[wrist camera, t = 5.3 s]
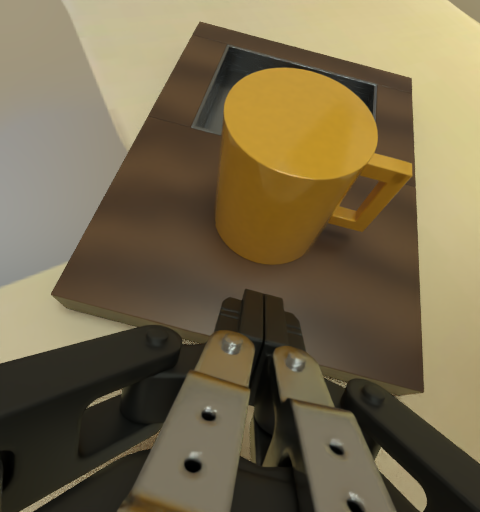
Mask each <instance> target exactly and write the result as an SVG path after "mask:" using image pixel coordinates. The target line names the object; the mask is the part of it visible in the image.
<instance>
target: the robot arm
mask: <svg viewBox="0 0 480 512" xmlns="http://www.w3.org/2000/svg"><path fill="white" fill-rule="evenodd" d="M122 388H123V389H122ZM119 389H122V394H120V395H118V396H115V397H113V398H110V399H108V400H106V401H103V402H101V403H99V404H96V405H94V406H91V407H89V408H87V407H88V406H89V405H90V404H91V403H92V402H93V401H94V400H96V399H98V398H100V397H102V396H104V395H107V394H109V393H112V392H114V391H117V390H119ZM248 405H251V406H254V413H253V416H252V419H251V422H250V427H249V430H250V456H251V461H249V460H247V459H245V458H243V457H241V456H240V451H241V445H242V439H243V433H244V427H245V421H246V415H247V409H248ZM86 408H87V409H86ZM160 429H161V430H160ZM159 430H160V432H159V434H158V436H157V439H156V441H155V443H154V445H153V447H152V449H148V450H143V451H139V452H136V453H133V454H130V455H127V456H125V457H123V458H120V459H118V460H116V461H114V462H113V463H111V464H109V465H107V466H106V467H104V468H103V469H101V470H99V471H98V472H96V473H95V474H93V475H91V476H90V477H88V478H87V479H85V480H83V481H82V482H80V483H78V484H77V485H75V486H74V487H72V488H70V489H69V490H67V491H66V492H64V493H62V494H61V495H59V496H58V497H56V498H54V499H53V500H51V501H50V502H48V503H46V504H45V505H43V506H41V507H40V508H38V509H37V510H35V511H33V512H420V511H419V510H417V509H416V508H415V507H414V506H413V505H412V504H411V503H410V502H409V501H408V500H407V499H406V498H405V497H404V496H403V495H402V494H401V493H400V492H399V491H398V490H397V489H396V487H395V486H394V485H393V484H392V483H391V482H390V481H389V480H388V479H387V478H386V477H385V476H384V475H383V474H382V473H381V472H380V471H379V470H378V468H377V466H376V464H375V461H374V460H375V458H376V456H377V454H378V452H379V450H380V448H381V447H382V448H383V449H384V450H385V451H386V452H387V453H388V454H389V455H390V456H391V457H392V458H393V459H395V460H396V461H397V462H398V463H399V464H400V465H401V466H402V467H403V468H404V469H405V470H406V471H407V472H408V473H409V474H410V475H411V476H412V477H414V478H415V479H416V480H417V481H418V482H419V484H420V485H421V486H422V488H423V489H424V492H425V494H426V497H427V506H426V508H425V510H424V511H423V512H480V464H479V463H478V462H477V461H475V460H474V459H473V458H472V457H470V456H469V455H468V454H467V453H465V452H464V451H463V450H461V449H460V448H459V447H458V446H456V445H455V444H454V443H453V442H451V441H450V440H449V439H447V438H446V437H445V436H444V435H442V434H441V433H440V432H439V431H437V430H436V429H435V428H433V427H432V426H431V425H430V424H428V423H427V422H426V421H425V420H423V419H422V418H421V417H420V416H418V415H417V414H416V413H414V412H413V411H412V410H411V409H409V408H408V407H407V406H406V405H404V404H403V403H402V402H400V401H399V400H398V399H397V398H395V397H394V396H393V395H392V394H390V393H389V392H388V391H386V390H385V389H384V388H382V387H381V386H379V385H377V384H375V383H373V382H371V381H368V380H365V379H360V378H354V379H351V380H349V381H348V383H347V385H346V388H344V387H341V386H339V385H337V384H335V383H333V382H331V381H329V380H327V379H325V378H324V377H323V375H322V373H321V370H320V367H319V365H318V363H317V361H316V360H315V359H314V358H313V357H312V356H311V355H310V354H308V353H307V352H306V349H305V344H304V340H303V336H302V331H301V326H300V322H299V320H298V319H297V318H296V317H295V315H294V314H293V313H290V312H286V311H284V305H283V299H282V298H280V297H276V296H272V295H269V294H264V295H263V293H261V292H257V291H253V290H249V289H245V291H244V294H243V298H242V300H240V299H236V298H232V297H228V298H227V299H225V300H224V301H223V302H222V305H221V309H220V312H219V316H218V319H217V323H216V326H215V329H214V333H212V334H211V335H210V337H209V339H208V341H207V342H205V343H202V344H195V345H187V344H182V338H181V336H180V335H179V334H178V333H177V332H176V331H174V330H173V329H171V328H168V327H165V326H161V325H145V326H141V327H137V328H134V329H130V330H126V331H122V332H118V333H115V334H111V335H107V336H103V337H99V338H96V339H92V340H88V341H84V342H80V343H77V344H73V345H69V346H65V347H61V348H58V349H54V350H50V351H46V352H43V353H39V354H35V355H31V356H27V357H24V358H20V359H16V360H12V361H8V362H5V363H1V364H0V512H19V511H21V510H23V509H24V508H26V507H28V506H30V505H31V504H33V503H35V502H37V501H38V500H40V499H42V498H44V497H45V496H47V495H49V494H51V493H52V492H54V491H56V490H58V489H59V488H61V487H63V486H65V485H67V484H68V483H70V482H72V481H74V480H75V479H77V478H79V477H81V476H82V475H84V474H86V473H88V472H89V471H91V470H93V469H95V468H96V467H98V466H100V465H102V464H103V463H105V462H107V461H109V460H110V459H112V458H114V457H116V456H117V455H119V454H121V453H123V452H124V451H126V450H128V449H130V448H131V447H133V446H135V445H137V444H138V443H140V442H142V441H144V440H145V439H147V438H149V437H151V436H153V435H154V434H156V433H157V432H158V431H159Z"/></svg>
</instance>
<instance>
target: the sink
mask: <svg viewBox="0 0 480 512" xmlns="http://www.w3.org/2000/svg"><path fill="white" fill-rule="evenodd" d="M271 68H297V69H303V70H308V71H312V72H315V73H318V74H321V75H324V76H326V77H329V78H331V79H333V80H335V81H337V82H339V83H340V84H342V85H344V86H345V87H347V88H348V89H350V90H351V91H352V92H353V93H355V94H356V95H357V96H358V97H359V98H360V99H361V100H362V101H363V102H364V103H365V105H366V106H367V107H368V109H369V110H370V112H371V114H372V115H373V117H374V120H375V122H376V103H377V84H375V83H371V82H367V81H363V80H360V79H356V78H352V77H348V76H345V75H341V74H337V73H334V72H330V71H326V70H322V69H319V68H315V67H311V66H307V65H304V64H300V63H296V62H292V61H289V60H285V59H281V58H277V57H274V56H270V55H266V54H262V53H259V52H255V51H251V50H247V49H244V48H240V47H236V46H232V45H229V44H227V46H226V48H225V51H224V53H223V55H222V58H221V60H220V62H219V64H218V67H217V69H216V71H215V73H214V76H213V78H212V80H211V82H210V85H209V87H208V89H207V92H206V94H205V96H204V98H203V101H202V103H201V105H200V107H199V110H198V112H197V114H196V116H195V119H194V121H193V123H192V126H191V128H194V129H197V130H201V131H205V132H209V133H212V134H216V135H220V136H221V132H222V122H223V111H224V103H225V100H226V97H227V95H228V93H229V91H230V90H231V89H232V87H233V86H234V85H235V84H236V83H237V82H238V81H239V80H241V79H242V78H244V77H245V76H247V75H250V74H252V73H254V72H257V71H260V70H265V69H271Z"/></svg>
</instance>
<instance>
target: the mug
mask: <svg viewBox="0 0 480 512" xmlns="http://www.w3.org/2000/svg"><path fill="white" fill-rule="evenodd" d="M377 142H378V130H377V126H376V122H375V120H374V117H373V115H372V114H371V112H370V110H369V109H368V107H367V106H366V105H365V103H364V102H363V101H362V100H361V99H360V98H359V97H358V96H357V95H356V94H355V93H353V92H352V91H351V90H350V89H348V88H347V87H345V86H344V85H342V84H340V83H339V82H337V81H335V80H333V79H331V78H329V77H326V76H324V75H321V74H318V73H315V72H312V71H308V70H303V69H297V68H271V69H265V70H260V71H257V72H254V73H252V74H250V75H247V76H245V77H244V78H242V79H241V80H239V81H238V82H237V83H236V84H235V85H234V86H233V87H232V89H231V90H230V91H229V93H228V95H227V97H226V100H225V103H224V111H223V122H222V132H221V143H220V154H219V165H218V176H217V187H216V198H215V208H214V221H215V225H216V228H217V231H218V233H219V235H220V236H221V238H222V240H223V241H224V242H225V243H226V245H227V246H228V247H229V248H230V249H232V250H233V251H234V252H235V253H237V254H238V255H240V256H242V257H243V258H246V259H248V260H250V261H253V262H256V263H261V264H268V265H278V264H284V263H288V262H292V261H294V260H296V259H298V258H300V257H301V256H303V255H304V254H305V253H307V252H308V251H309V250H310V248H311V247H312V246H313V244H314V243H315V241H316V240H317V238H318V237H319V236H320V234H321V233H322V231H323V230H324V228H325V227H326V225H327V224H328V223H329V224H333V225H337V226H341V227H344V228H348V229H352V230H356V231H360V232H363V231H364V230H365V229H366V228H367V227H368V225H369V224H370V223H371V222H372V221H373V220H374V219H375V218H376V216H377V215H378V214H379V213H380V212H381V211H382V210H383V209H384V207H385V206H386V205H387V204H388V203H389V202H390V201H391V199H392V198H393V197H394V196H395V195H396V194H397V193H398V192H399V190H400V189H401V188H402V187H403V186H404V185H405V184H406V183H407V181H408V180H409V179H410V178H411V177H412V175H413V174H412V163H409V162H406V161H402V160H398V159H395V158H391V157H387V156H383V155H380V154H376V153H375V150H376V147H377ZM359 176H364V177H367V178H371V179H375V180H379V182H378V183H377V185H376V186H375V187H374V189H373V190H372V191H371V192H370V194H369V195H368V196H367V198H366V199H365V200H364V202H363V203H362V204H361V205H360V207H359V208H358V209H357V211H355V210H351V209H347V208H344V207H340V204H341V203H342V201H343V200H344V198H345V197H346V195H347V194H348V192H349V191H350V189H351V188H352V186H353V185H354V183H355V182H356V180H357V179H358V177H359Z"/></svg>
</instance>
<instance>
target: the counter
mask: <svg viewBox="0 0 480 512" xmlns="http://www.w3.org/2000/svg"><path fill="white" fill-rule="evenodd" d="M227 44H229V45H232V46H236V47H240V48H244V49H247V50H251V51H255V52H259V53H262V54H266V55H270V56H274V57H277V58H281V59H285V60H289V61H292V62H296V63H300V64H304V65H307V66H311V67H315V68H319V69H322V70H326V71H330V72H334V73H337V74H341V75H345V76H348V77H352V78H356V79H360V80H363V81H367V82H371V83H375V84H377V103H376V126H377V130H378V142H377V147H376V150H375V153H376V154H380V155H383V156H387V157H391V158H395V159H398V160H402V161H406V162H409V163H412V174H413V175H412V177H411V178H410V179H409V180H408V181H407V183H406V184H405V185H404V186H403V187H402V188H401V189H400V190H399V192H398V193H397V194H396V195H395V196H394V197H393V198H392V199H391V201H390V202H389V203H388V204H387V205H386V206H385V207H384V209H383V210H382V211H381V212H380V213H379V214H378V215H377V216H376V218H375V219H374V220H373V221H372V222H371V223H370V224H369V225H368V227H367V228H366V229H365V230H364V231H363V232H360V231H356V230H352V229H348V228H344V227H341V226H337V225H333V224H329V223H328V224H327V225H326V227H325V228H324V230H323V231H322V233H321V234H320V236H319V237H318V238H317V240H316V241H315V243H314V244H313V246H312V247H311V248H310V250H309V251H308V252H307V253H305V254H304V255H303V256H301V257H300V258H298V259H296V260H294V261H292V262H288V263H284V264H278V265H268V264H261V263H256V262H253V261H250V260H248V259H246V258H243V257H242V256H240V255H238V254H237V253H235V252H234V251H233V250H232V249H230V248H229V247H228V246H227V245H226V243H225V242H224V241H223V240H222V238H221V236H220V235H219V233H218V231H217V228H216V225H215V221H214V208H215V198H216V187H217V176H218V165H219V154H220V143H221V136H220V135H216V134H212V133H209V132H205V131H201V130H197V129H194V128H191V126H192V123H193V121H194V119H195V116H196V114H197V112H198V110H199V107H200V105H201V103H202V101H203V98H204V96H205V94H206V92H207V89H208V87H209V85H210V82H211V80H212V78H213V76H214V73H215V71H216V69H217V67H218V64H219V62H220V60H221V58H222V55H223V53H224V51H225V48H226V46H227ZM378 182H379V180H375V179H371V178H367V177H364V176H359V177H358V179H357V180H356V182H355V183H354V185H353V186H352V188H351V189H350V191H349V192H348V194H347V195H346V197H345V198H344V200H343V201H342V203H341V204H340V207H344V208H347V209H351V210H355V211H357V209H358V208H359V207H360V205H361V204H362V203H363V202H364V200H365V199H366V198H367V196H368V195H369V194H370V192H371V191H372V190H373V189H374V187H375V186H376V185H377V183H378ZM415 187H416V182H415V157H414V132H413V107H412V79H411V78H409V77H405V76H401V75H398V74H394V73H390V72H386V71H383V70H379V69H375V68H371V67H368V66H364V65H360V64H357V63H353V62H349V61H345V60H342V59H338V58H334V57H330V56H327V55H323V54H319V53H315V52H312V51H308V50H304V49H300V48H297V47H293V46H289V45H285V44H282V43H278V42H274V41H270V40H267V39H263V38H259V37H256V36H252V35H248V34H244V33H241V32H237V31H233V30H229V29H226V28H222V27H218V26H214V25H211V24H207V23H203V22H199V24H198V26H197V27H196V29H195V31H194V33H193V35H192V37H191V38H190V40H189V42H188V44H187V46H186V48H185V49H184V51H183V53H182V55H181V57H180V59H179V60H178V62H177V64H176V66H175V68H174V70H173V71H172V73H171V75H170V77H169V79H168V81H167V82H166V84H165V86H164V88H163V90H162V92H161V93H160V95H159V97H158V99H157V101H156V103H155V104H154V106H153V108H152V110H151V112H150V114H149V115H148V117H147V119H146V121H145V123H144V125H143V126H142V128H141V130H140V132H139V134H138V136H137V137H136V139H135V141H134V143H133V145H132V147H131V148H130V150H129V152H128V154H127V156H126V158H125V159H124V161H123V163H122V165H121V167H120V169H119V170H118V172H117V174H116V176H115V178H114V179H113V182H112V183H111V185H110V187H109V189H108V191H107V192H106V194H105V196H104V198H103V200H102V201H101V203H100V205H99V207H98V209H97V211H96V212H95V214H94V216H93V218H92V220H91V222H90V223H89V225H88V227H87V229H86V231H85V233H84V234H83V236H82V238H81V240H80V242H79V244H78V245H77V247H76V249H75V251H74V253H73V255H72V256H71V258H70V260H69V262H68V264H67V266H66V267H65V269H64V271H63V273H62V275H61V276H60V278H59V280H58V282H57V284H56V286H55V287H54V289H53V291H52V293H51V295H52V296H53V297H54V298H55V299H57V300H58V301H59V302H60V303H61V304H62V305H63V306H65V307H66V308H68V309H72V310H76V311H80V312H83V313H87V314H91V315H95V316H99V317H102V318H106V319H110V320H114V321H118V322H121V323H125V324H129V325H133V326H137V327H141V326H145V325H161V326H165V327H168V328H171V329H173V330H174V331H176V332H177V333H178V334H179V335H180V336H181V338H182V339H186V340H190V341H194V342H197V343H201V344H202V343H205V342H207V341H208V339H209V337H210V335H211V334H212V333H214V329H215V326H216V323H217V319H218V316H219V312H220V309H221V305H222V302H223V301H224V300H225V299H227V298H228V297H232V298H236V299H240V300H242V298H243V294H244V291H245V289H249V290H253V291H257V292H261V293H263V295H264V294H269V295H272V296H276V297H280V298H282V299H283V305H284V311H286V312H290V313H293V314H294V315H295V317H296V318H297V319H298V320H299V322H300V326H301V331H302V336H303V340H304V344H305V349H306V352H307V353H308V354H310V355H311V356H312V357H313V358H314V359H315V360H316V361H317V363H318V365H319V367H320V370H321V373H322V375H323V376H327V377H331V378H334V379H338V380H342V381H346V382H348V381H349V380H351V379H354V378H360V379H365V380H368V381H371V382H373V383H375V384H377V385H379V386H381V387H382V388H384V389H385V390H386V391H388V392H389V393H391V394H395V395H399V396H400V395H408V394H416V393H423V392H424V382H423V357H422V331H421V306H420V281H419V256H418V231H417V206H416V188H415Z"/></svg>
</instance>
